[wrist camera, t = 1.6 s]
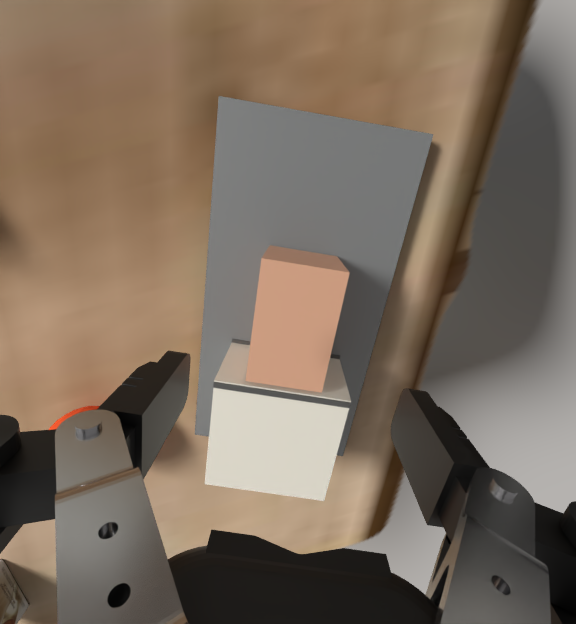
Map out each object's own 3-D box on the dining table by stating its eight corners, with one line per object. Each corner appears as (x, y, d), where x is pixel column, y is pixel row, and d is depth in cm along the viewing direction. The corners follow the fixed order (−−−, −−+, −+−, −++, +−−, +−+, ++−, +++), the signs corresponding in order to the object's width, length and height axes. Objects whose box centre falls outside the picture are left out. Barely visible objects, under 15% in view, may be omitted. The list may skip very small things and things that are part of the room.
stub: (269, 245, 22) (261, 258, 17) (337, 256, 23) (349, 272, 17) (256, 343, 25) (245, 381, 20) (316, 352, 25) (321, 392, 20)
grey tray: (223, 101, 21) (187, 53, 14) (426, 137, 21) (486, 107, 14) (198, 425, 30) (170, 490, 23) (341, 446, 30) (353, 516, 23)
